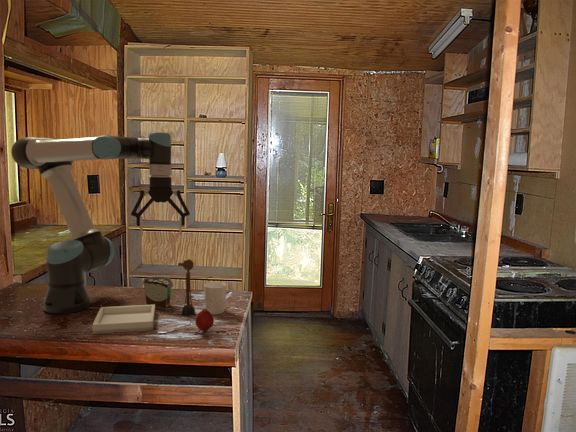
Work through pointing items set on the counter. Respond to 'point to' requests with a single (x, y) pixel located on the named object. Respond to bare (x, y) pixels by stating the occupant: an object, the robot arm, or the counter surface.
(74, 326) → the counter surface
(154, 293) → the food container
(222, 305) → the white cup
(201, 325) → the onion
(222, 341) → the counter surface
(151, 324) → the tray
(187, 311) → the wooden tabletop sculpture
